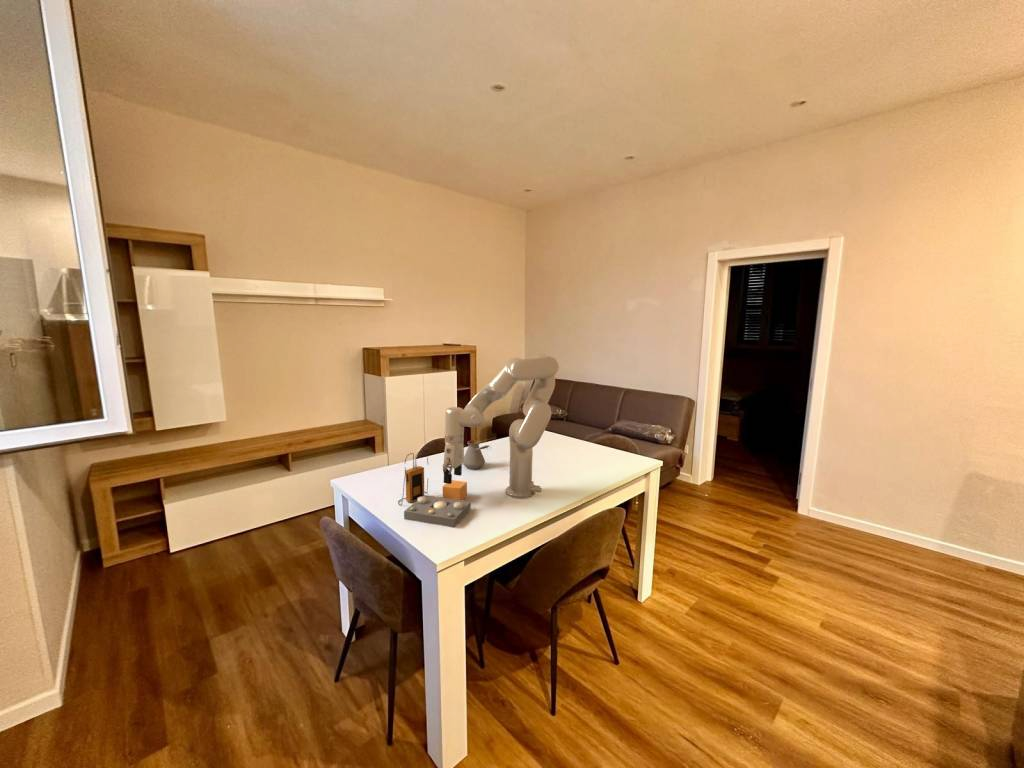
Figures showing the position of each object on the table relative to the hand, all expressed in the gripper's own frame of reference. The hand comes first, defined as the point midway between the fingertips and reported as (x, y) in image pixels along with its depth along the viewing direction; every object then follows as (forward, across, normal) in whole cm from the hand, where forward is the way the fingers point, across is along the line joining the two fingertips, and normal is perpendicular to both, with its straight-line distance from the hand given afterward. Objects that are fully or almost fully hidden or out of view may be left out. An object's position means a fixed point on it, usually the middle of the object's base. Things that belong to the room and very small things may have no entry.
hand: (452, 479), depth 165 cm
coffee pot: (+8, +35, +2) cm, 36 cm away
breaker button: (+8, -13, -1) cm, 15 cm away
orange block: (+8, +1, -1) cm, 8 cm away
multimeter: (+9, -4, +17) cm, 20 cm away
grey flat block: (+8, -14, -1) cm, 17 cm away
